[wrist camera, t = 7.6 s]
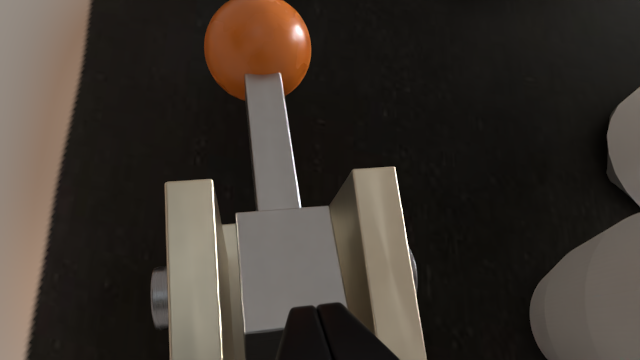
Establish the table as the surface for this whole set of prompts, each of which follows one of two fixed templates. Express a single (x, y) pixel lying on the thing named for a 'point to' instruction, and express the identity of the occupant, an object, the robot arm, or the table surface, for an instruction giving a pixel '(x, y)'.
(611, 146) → the cup
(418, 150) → the table surface
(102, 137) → the table surface
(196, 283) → the orange ball handle stand
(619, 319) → the cup
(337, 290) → the switch lever
